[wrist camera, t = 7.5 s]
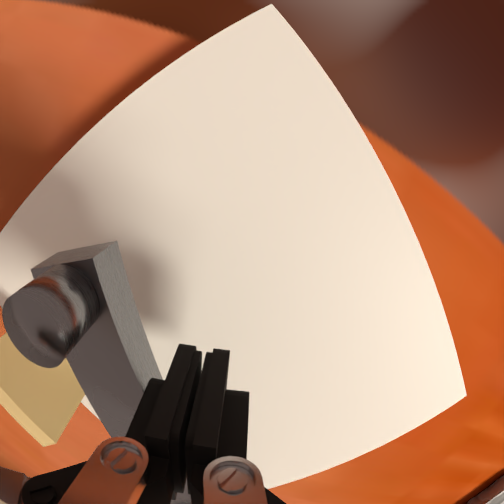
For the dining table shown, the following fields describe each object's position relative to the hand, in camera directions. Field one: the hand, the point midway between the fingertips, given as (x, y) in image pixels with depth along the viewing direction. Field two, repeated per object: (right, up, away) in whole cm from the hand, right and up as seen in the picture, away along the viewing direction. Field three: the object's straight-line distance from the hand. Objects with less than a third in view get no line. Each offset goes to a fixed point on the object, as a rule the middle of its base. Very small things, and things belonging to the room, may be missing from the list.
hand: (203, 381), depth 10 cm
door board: (0, 0, +5) cm, 5 cm away
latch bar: (-2, -2, +4) cm, 5 cm away
